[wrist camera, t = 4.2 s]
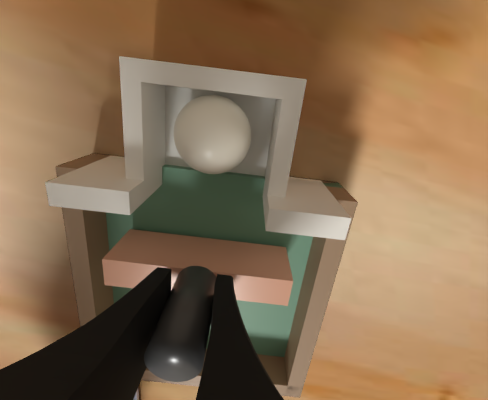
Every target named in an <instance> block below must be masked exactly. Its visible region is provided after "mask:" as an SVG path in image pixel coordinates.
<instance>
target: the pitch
mask: <svg viewBox="0 0 488 400" xmlns="http://www.w3.org/2000/svg"><path fill="white" fill-rule="evenodd" d="M119 64H120V82H121V100H122V118H123V137H124V155H125V157H119V156H111V155H103V154H94V153H92V154H90V155H87V156H84V157H81V158H78V159H75V160H72V161H69V162H67V163H64V164H61V165H58V166H56V173H57V177H56V178H54V179H51V180H49V181H47V182H45V185H46V190H47V196H48V202H49V206H56V207H62V211H63V218H64V224H65V231H66V237H67V244H68V250H69V256H70V263H71V269H72V276H73V282H74V289H75V295H76V302H77V308H78V314H79V321H80V327H81V326H83V325H84V324H86V323H87V322H89V321H90V320H92V319H93V318H95V317H96V316H98V315H99V314H101V313H102V312H103V311H105V310H106V309H107V308H109V307H110V306H111V305H113V304H114V303H115V302H117V301H118V300H119V299H120V298H122V297H123V296H124V295H125V294H127V293H128V292H129V291H130V290H131V289H133V288H126V287H117V286H108V285H105V284H104V274H103V264H102V259H103V258H104V256H105V255H106V254H107V253H108V252H109V251H110V250H111V249H112V248H113V247H114V246H115V245H116V244H117V243H118V242H119V240H120V239H121V238H122V237H123V236H124V235H125V234H126V233H127V232H128V231H129V230H130V229H134V230H142V231H151V232H160V233H168V234H177V235H186V236H194V237H203V238H211V239H220V240H229V241H237V242H246V243H254V244H263V245H272V246H280V247H286V250H287V255H288V259H289V264H290V268H291V273H292V277H293V285H292V289H291V294H290V298H289V303H288V306H284V305H275V304H267V303H258V302H249V301H240V300H237V304H238V307H239V311H240V314H241V317H242V320H243V323H244V325H245V328H246V331H247V333H248V336H249V338H250V340H251V342H252V345H253V347H254V349H255V351H256V353H257V355H258V357H259V359H260V361H261V363H262V365H263V367H264V368H265V370H266V372H267V373H268V375H269V377H270V378H271V380H272V382H273V384H274V385H275V387H276V389H277V390H278V392H279V393H280V395H281V396H290V397H299V398H300V396H301V392H302V389H303V386H304V382H305V379H306V375H307V372H308V369H309V365H310V362H311V359H312V355H313V352H314V348H315V345H316V342H317V338H318V335H319V332H320V328H321V325H322V321H323V318H324V315H325V311H326V308H327V304H328V301H329V298H330V294H331V291H332V288H333V284H334V281H335V277H336V274H337V271H338V267H339V264H340V261H341V257H342V254H343V250H344V247H345V244H346V240H347V237H348V233H349V230H350V227H351V223H352V220H353V217H354V213H355V210H356V206H357V203H358V202H357V201H356V200H355V199H354V198H353V197H352V196H351V195H350V194H349V193H348V192H347V191H346V190H345V189H344V188H343V187H342V186H341V185H340V184H339V183H338V182H329V181H321V180H312V179H304V178H296V177H289V174H290V169H291V163H292V158H293V152H294V147H295V142H296V136H297V131H298V125H299V120H300V114H301V109H302V104H303V98H304V93H305V87H306V82H307V79H301V78H293V77H285V76H277V75H268V74H260V73H252V72H244V71H236V70H228V69H220V68H212V67H204V66H196V65H187V64H179V63H171V62H163V61H155V60H147V59H139V58H131V57H123V56H119ZM204 95H219V96H223V97H226V98H228V99H230V100H232V101H233V102H235V103H236V104H237V105H238V106H239V107H240V108H241V109H242V110H243V112H244V113H245V115H246V117H247V118H248V121H249V124H250V128H251V143H250V148H249V150H248V153H247V155H246V156H245V158H244V159H243V160H242V162H241V163H240V164H239V165H238V166H236V167H235V168H233V169H232V170H230V171H228V172H225V173H221V174H206V173H202V172H199V171H197V170H195V169H193V168H192V167H190V166H189V165H188V164H187V163H186V162H185V161H184V160H183V159H182V158H181V156H180V155H179V153H178V151H177V148H176V146H175V142H174V125H175V121H176V118H177V116H178V114H179V113H180V111H181V110H182V108H183V107H184V106H185V105H186V104H187V103H189V102H190V101H191V100H193V99H195V98H197V97H200V96H204ZM210 330H211V326H210ZM209 337H210V331H209ZM209 337H208V342H209ZM208 342H207V347H208ZM206 352H207V348H206ZM205 356H206V353H205ZM204 361H205V358H204ZM203 366H204V364H203ZM202 370H203V368H202ZM201 375H202V371H201V372H200V374H199V375H198V376H196V377H195V378H193V379H191V380H188V381H183V382H172V381H167V380H164V379H161V378H159V377H157V376H155V375H154V374H153V373H152V372H150V371H149V369H148V368H146V370H145V372H144V374H143V377H142V379H141V380H144V381H154V382H163V383H172V384H181V385H190V386H199V384H200V379H201Z"/></svg>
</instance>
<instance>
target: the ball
mask: <svg viewBox="0 0 488 400" xmlns="http://www.w3.org/2000/svg"><path fill="white" fill-rule="evenodd" d="M174 142H175V146H176V148H177V151H178V153H179V155H180V156H181V158H182V159H183V160H184V161H185V162H186V163H187V164H188V165H189V166H190V167H192V168H193V169H195V170H197V171H199V172H202V173H206V174H221V173H225V172H228V171H230V170H232V169H233V168H235V167H236V166H238V165H239V164H240V163H241V162H242V160H243V159H244V158H245V156H246V155H247V153H248V150H249V148H250V143H251V128H250V124H249V121H248V118H247V117H246V115H245V113H244V112H243V110H242V109H241V108H240V107H239V106H238V105H237V104H236V103H235V102H233V101H232V100H230V99H228V98H226V97H223V96H219V95H204V96H200V97H197V98H195V99H193V100H191V101H190V102H189V103H187V104H186V105H185V106H184V107H183V108H182V110H181V111H180V113H179V114H178V116H177V118H176V121H175V125H174Z"/></svg>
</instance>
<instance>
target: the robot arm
mask: <svg viewBox="0 0 488 400" xmlns="http://www.w3.org/2000/svg"><path fill="white" fill-rule="evenodd" d="M170 292H171V269H169V268H161V267H157V268H156V269H155V270H153V271H152V272H151V273H150V274H149V275H148V276H147V277H145V278H144V279H143V280H142V281H141V282H140V283H139V284H137V285H136V286H135V287H134V288H133V289H131V290H130V291H129V292H128V293H127V294H125V295H124V296H123V297H122V298H120V299H119V300H118V301H117V302H115V303H114V304H113V305H111V306H110V307H109V308H107V309H106V310H105V311H103V312H102V313H101V314H99V315H98V316H96V317H95V318H93V319H92V320H90V321H89V322H87V323H86V324H84V325H83V326H81V327H80V328H78V329H76V330H75V331H73V332H72V333H70V334H68V335H66V336H65V337H63V338H61V339H59V340H57V341H56V342H54V343H52V344H50V345H49V346H47V347H45V348H43V349H41V350H39V351H37V352H35V353H34V354H32V355H30V356H28V357H26V358H24V359H22V360H19V361H17V362H15V363H13V364H11V365H9V366H7V367H5V368H3V369H0V400H139V391H138V386H139V384H140V381H141V379H142V377H143V374H144V372H145V370H146V368H147V367H146V365H145V362H144V354H145V351H146V349H147V347H148V344H149V342H150V340H151V337H152V335H153V333H154V330H155V328H156V325H157V323H158V321H159V318H160V316H161V314H162V311H163V309H164V307H165V304H166V302H167V299H168V297H169V295H170ZM196 400H284V399H283V398H282V396H281V395H280V393H279V392H278V390H277V389H276V387H275V385H274V384H273V382H272V380H271V378H270V377H269V375H268V373H267V372H266V370H265V368H264V367H263V365H262V363H261V361H260V359H259V357H258V355H257V353H256V351H255V349H254V347H253V345H252V342H251V340H250V338H249V336H248V333H247V331H246V328H245V325H244V323H243V320H242V317H241V314H240V311H239V307H238V304H237V300H236V296H235V291H234V283H233V277H232V276H230V275H221V274H217V277H216V281H215V286H214V297H213V308H212V320H211V330H210V337H209V342H208V347H207V352H206V356H205V361H204V366H203V370H202V375H201V379H200V384H199V388H198V393H197V397H196Z"/></svg>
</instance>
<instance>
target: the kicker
mask: <svg viewBox="0 0 488 400" xmlns="http://www.w3.org/2000/svg"><path fill="white" fill-rule="evenodd" d="M102 264H103V274H104V284H105V285H108V286H117V287H126V288H134V287H135V286H136V285H137V284H139V283H140V282H141V281H142V280H143V279H144V278H145V277H147V276H148V275H149V274H150V273H151V272H152V271H153V270H155V269H156V268H157V267H161V268H169V269H171V292H170V295H169V297H168V299H167V302H166V304H165V307H164V309H163V311H162V314H161V316H160V318H159V321H158V323H157V325H156V328H155V330H154V333H153V335H152V337H151V340H150V342H149V344H148V347H147V349H146V351H145V354H144V362H145V365H146V367H147V368H148V369H149V371H150V372H152V373H153V374H154V375H155V376H157V377H159V378H161V379H164V380H167V381H172V382H183V381H188V380H191V379H193V378H195V377H196V376H198V375H199V374H200V372H201V371H202V368H203V364H204V358H205V353H206V348H207V342H208V337H209V331H210V326H211V320H212V308H213V297H214V286H215V281H216V277H217V274H221V275H230V276H232V277H233V283H234V291H235V296H236V300H240V301H249V302H258V303H267V304H275V305H284V306H288V303H289V298H290V294H291V289H292V285H293V277H292V273H291V268H290V264H289V259H288V255H287V250H286V247H280V246H272V245H263V244H254V243H246V242H237V241H229V240H220V239H211V238H203V237H194V236H186V235H177V234H168V233H160V232H151V231H142V230H134V229H130V230H129V231H128V232H127V233H126V234H125V235H124V236H123V237H122V238H121V239H120V240H119V242H118V243H117V244H116V245H115V246H114V247H113V248H112V249H111V250H110V251H109V252H108V253H107V254H106V255H105V256H104V258H103V259H102Z"/></svg>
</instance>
